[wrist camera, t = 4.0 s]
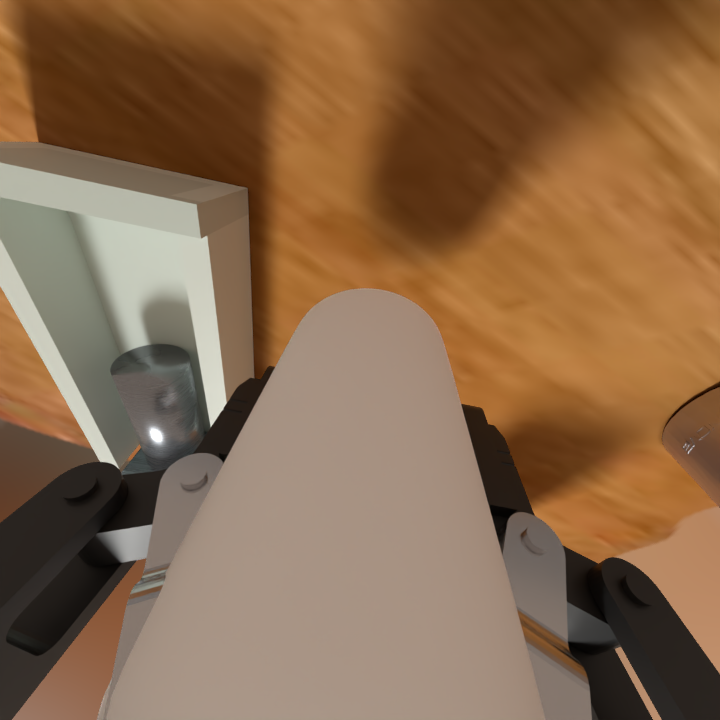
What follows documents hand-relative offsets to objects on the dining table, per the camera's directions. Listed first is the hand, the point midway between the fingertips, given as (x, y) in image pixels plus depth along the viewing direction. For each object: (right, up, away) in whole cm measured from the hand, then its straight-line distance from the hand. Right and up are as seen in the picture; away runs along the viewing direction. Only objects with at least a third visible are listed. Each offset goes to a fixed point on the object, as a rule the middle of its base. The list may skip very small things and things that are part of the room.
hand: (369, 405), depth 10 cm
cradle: (-13, +3, +10) cm, 16 cm away
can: (0, +2, +3) cm, 3 cm away
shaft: (-14, -2, +12) cm, 18 cm away
